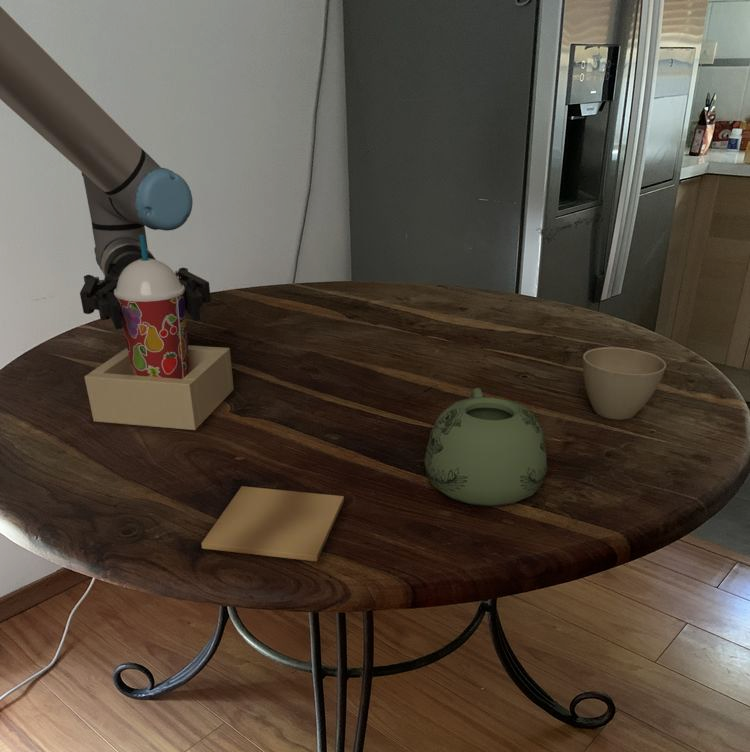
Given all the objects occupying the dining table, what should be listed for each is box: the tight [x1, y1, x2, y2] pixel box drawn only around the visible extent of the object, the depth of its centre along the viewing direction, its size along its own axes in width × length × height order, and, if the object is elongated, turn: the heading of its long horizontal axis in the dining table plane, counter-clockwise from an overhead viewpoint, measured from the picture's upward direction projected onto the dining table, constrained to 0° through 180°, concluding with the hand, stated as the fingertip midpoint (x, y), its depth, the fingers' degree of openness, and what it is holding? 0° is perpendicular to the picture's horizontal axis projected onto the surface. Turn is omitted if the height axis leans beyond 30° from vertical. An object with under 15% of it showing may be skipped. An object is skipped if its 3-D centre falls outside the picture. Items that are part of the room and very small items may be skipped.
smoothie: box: [114, 235, 189, 379], centre depth 91 cm, size 8×8×20 cm
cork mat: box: [201, 485, 345, 562], centre depth 72 cm, size 11×11×1 cm
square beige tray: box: [84, 344, 235, 431], centre depth 95 cm, size 14×14×6 cm
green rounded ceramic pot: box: [423, 387, 548, 508], centre depth 78 cm, size 16×13×9 cm
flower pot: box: [582, 346, 667, 421], centre depth 94 cm, size 10×10×7 cm
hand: (157, 313), depth 86 cm, fingers closed on smoothie, 8 cm apart
